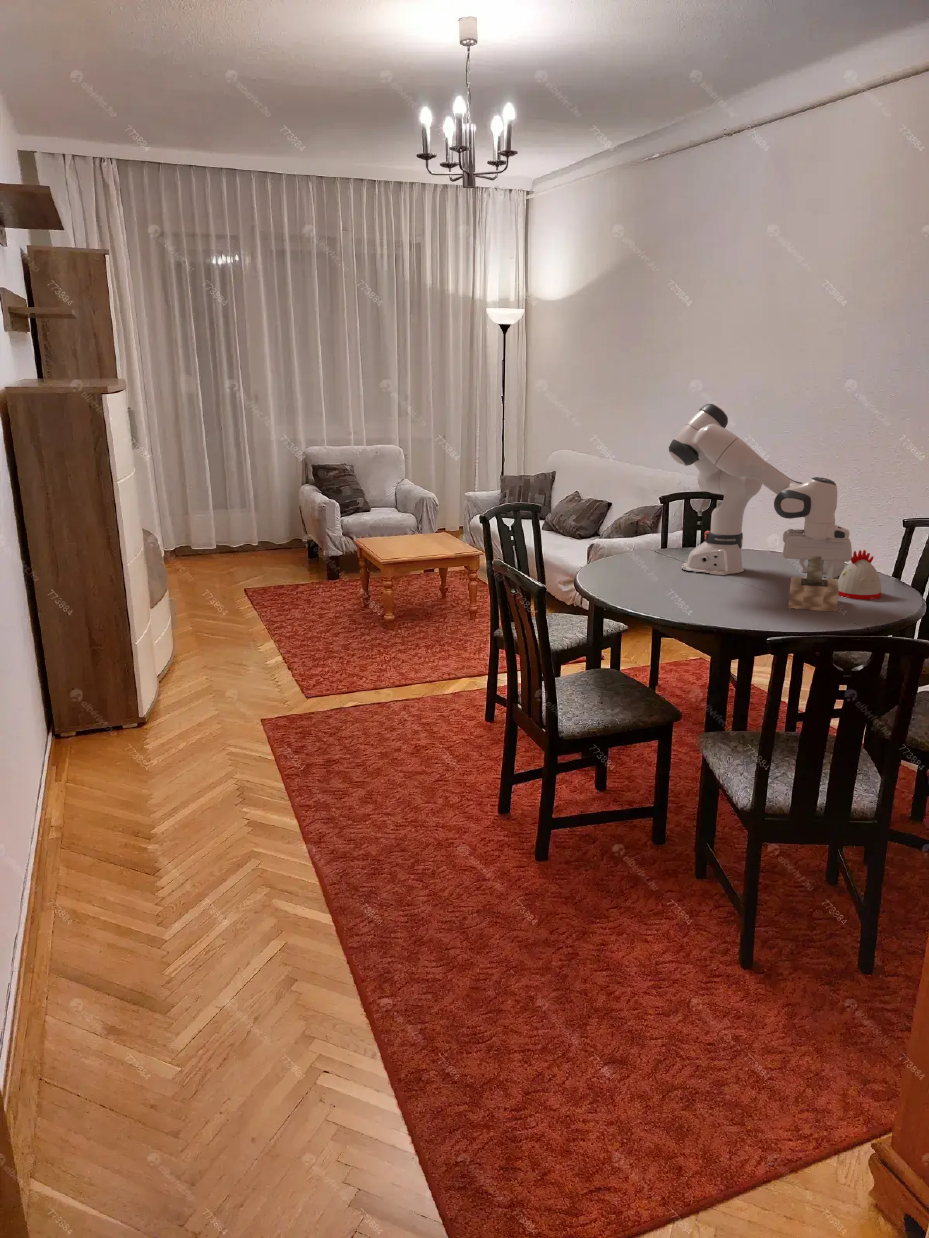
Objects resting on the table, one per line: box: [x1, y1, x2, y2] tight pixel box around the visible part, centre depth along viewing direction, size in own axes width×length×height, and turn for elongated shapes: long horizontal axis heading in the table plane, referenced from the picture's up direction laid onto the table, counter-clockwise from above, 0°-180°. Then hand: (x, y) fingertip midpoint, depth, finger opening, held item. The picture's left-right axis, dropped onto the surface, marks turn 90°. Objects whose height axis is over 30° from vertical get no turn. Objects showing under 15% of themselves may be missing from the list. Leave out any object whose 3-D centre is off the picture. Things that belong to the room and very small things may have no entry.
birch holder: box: [787, 576, 839, 613], centre depth 276 cm, size 14×14×7 cm
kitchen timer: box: [838, 549, 882, 601], centre depth 285 cm, size 14×14×15 cm
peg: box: [806, 556, 824, 584], centre depth 274 cm, size 4×4×10 cm
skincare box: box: [822, 560, 846, 579], centre depth 309 cm, size 8×6×15 cm
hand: (814, 573), depth 274 cm, fingers closed on peg, 4 cm apart
